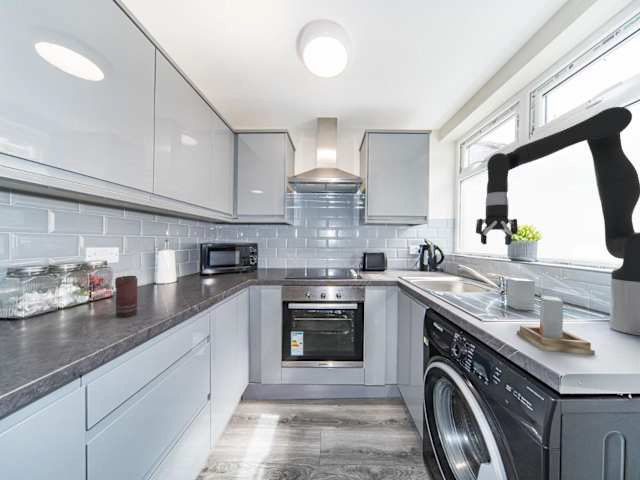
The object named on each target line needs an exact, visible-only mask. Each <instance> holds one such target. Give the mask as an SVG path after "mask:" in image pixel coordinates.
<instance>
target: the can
mask: <svg viewBox="0 0 640 480" xmlns="http://www.w3.org/2000/svg"><path fill="white" fill-rule="evenodd" d="M114 284H115V285H114V287H115V316H116V318H119V319H120V318H121V319H123V318H130V317H134V316H136V315H137V313H138V277H137V276H136V275H123V276H117V277H116V278H115V281H114Z"/></svg>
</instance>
